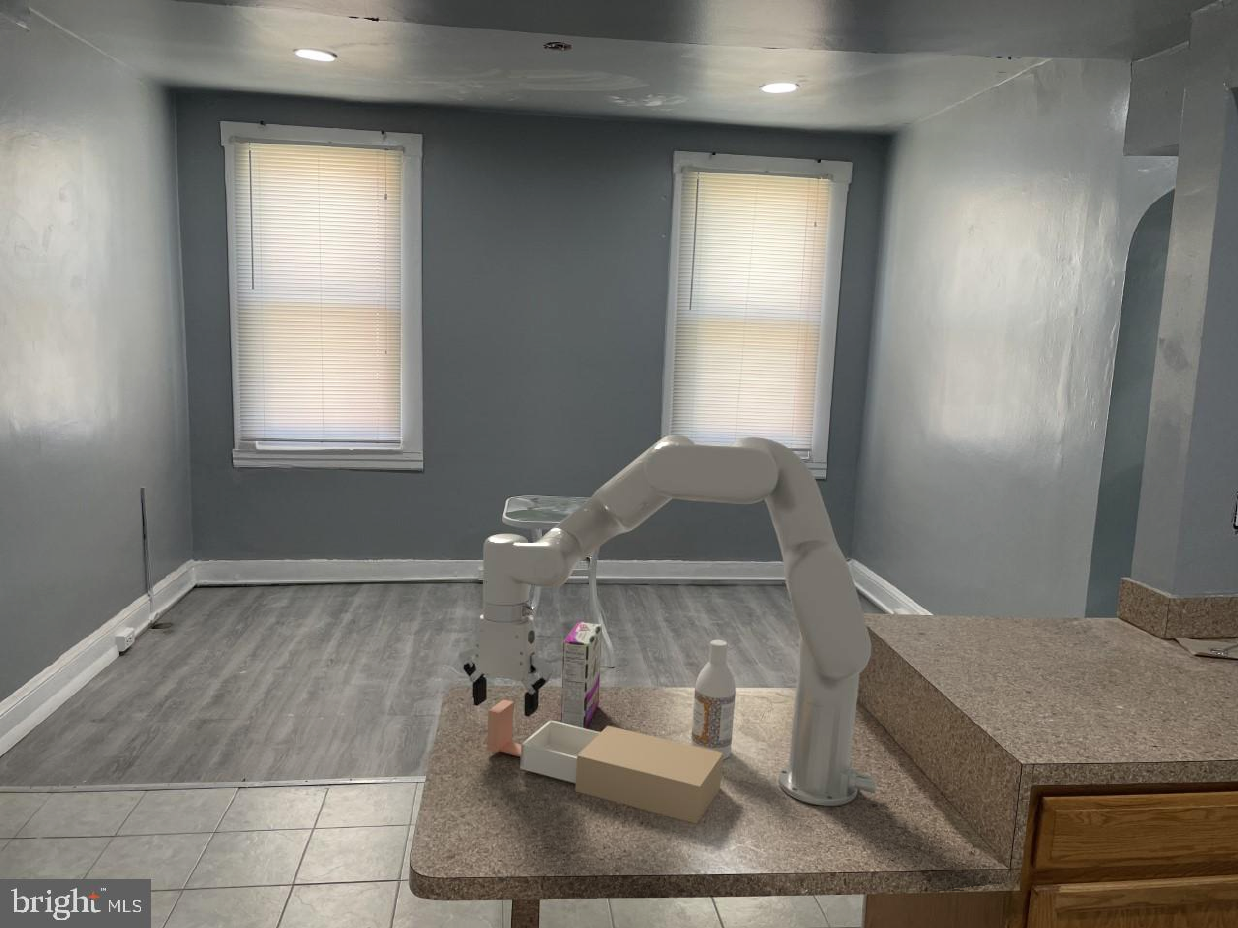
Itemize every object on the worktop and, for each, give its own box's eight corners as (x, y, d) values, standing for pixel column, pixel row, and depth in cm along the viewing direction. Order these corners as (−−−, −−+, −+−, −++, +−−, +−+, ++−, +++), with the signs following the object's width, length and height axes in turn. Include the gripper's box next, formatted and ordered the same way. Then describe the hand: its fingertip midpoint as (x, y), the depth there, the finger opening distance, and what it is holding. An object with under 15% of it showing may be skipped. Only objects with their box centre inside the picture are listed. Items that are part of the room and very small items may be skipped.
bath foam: (683, 746, 163) (691, 637, 159) (718, 741, 165) (726, 633, 162) (702, 764, 156) (710, 651, 153) (738, 759, 159) (747, 647, 156)
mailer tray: (655, 769, 152) (658, 728, 151) (632, 798, 143) (635, 754, 142) (509, 733, 162) (510, 694, 161) (478, 757, 153) (480, 716, 152)
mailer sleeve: (720, 787, 149) (723, 752, 148) (697, 823, 138) (700, 786, 137) (605, 759, 156) (607, 725, 155) (575, 791, 145) (577, 755, 144)
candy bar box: (573, 702, 178) (577, 620, 176) (599, 706, 177) (603, 623, 175) (558, 727, 167) (562, 640, 165) (585, 730, 166) (589, 643, 164)
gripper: (563, 610, 153) (561, 709, 156) (472, 596, 160) (472, 690, 163) (542, 624, 147) (540, 726, 149) (448, 608, 153) (448, 706, 156)
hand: (505, 707), depth 156 cm, fingers open, 9 cm apart
